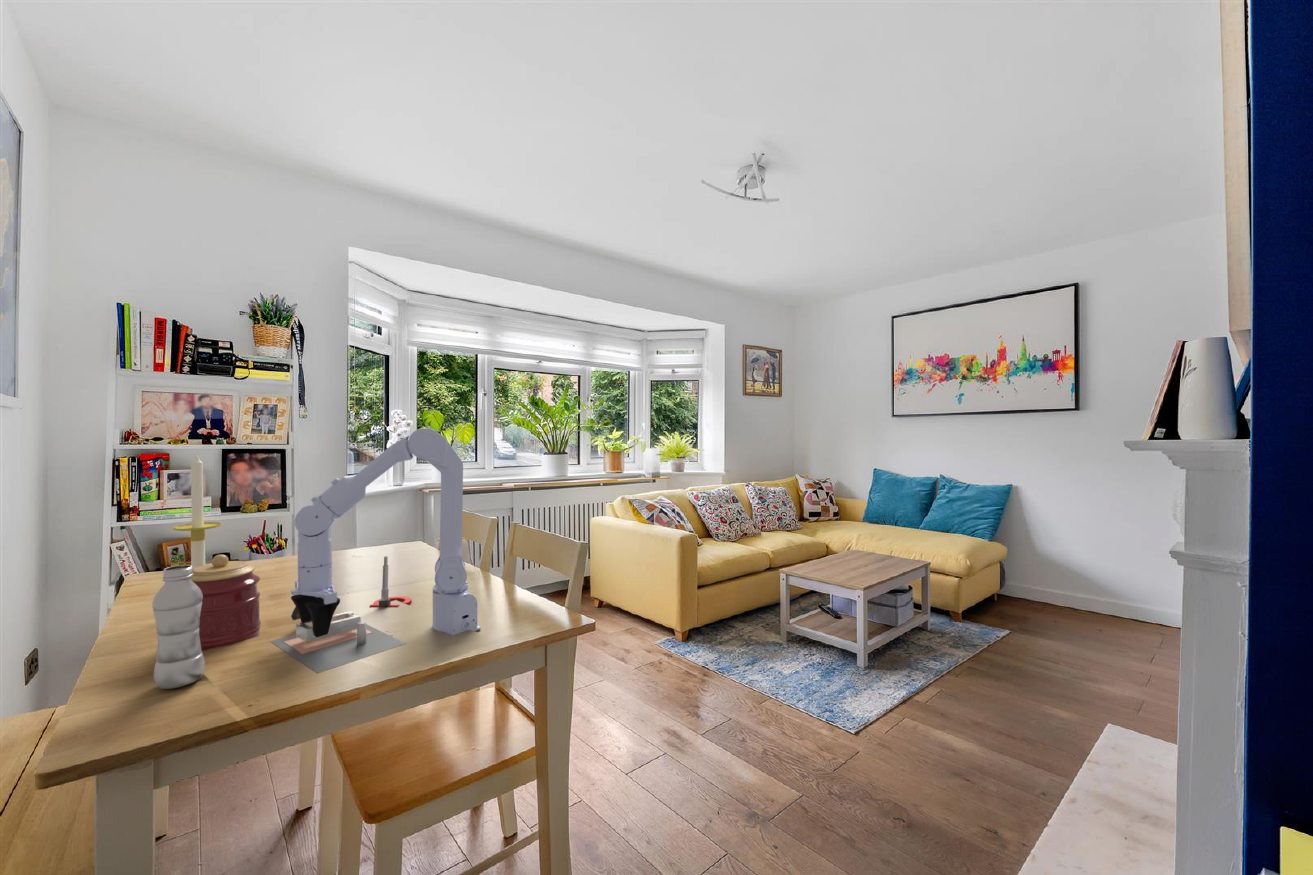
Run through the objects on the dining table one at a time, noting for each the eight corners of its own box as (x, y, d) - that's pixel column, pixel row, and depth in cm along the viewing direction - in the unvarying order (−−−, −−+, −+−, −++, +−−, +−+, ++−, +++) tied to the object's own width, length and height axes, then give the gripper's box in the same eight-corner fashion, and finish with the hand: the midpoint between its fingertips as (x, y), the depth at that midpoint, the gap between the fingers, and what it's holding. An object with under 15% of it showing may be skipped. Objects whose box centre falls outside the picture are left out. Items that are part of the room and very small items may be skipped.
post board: (406, 648, 107) (406, 623, 107) (317, 678, 94) (317, 650, 94) (354, 622, 120) (354, 600, 120) (270, 646, 107) (269, 621, 107)
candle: (159, 616, 122) (156, 452, 121) (208, 602, 132) (206, 450, 131) (188, 622, 119) (186, 453, 118) (236, 607, 129) (234, 451, 128)
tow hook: (383, 600, 136) (364, 611, 127) (384, 549, 136) (366, 556, 127) (417, 601, 136) (400, 612, 127) (418, 549, 137) (402, 557, 127)
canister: (272, 636, 112) (271, 552, 111) (195, 660, 101) (193, 566, 100) (243, 624, 118) (242, 544, 118) (167, 645, 107) (166, 557, 107)
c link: (360, 628, 112) (360, 616, 112) (306, 642, 104) (306, 629, 104) (349, 622, 115) (349, 611, 115) (296, 636, 107) (296, 623, 107)
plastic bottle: (215, 674, 95) (213, 562, 94) (182, 694, 88) (180, 573, 88) (177, 675, 95) (175, 562, 94) (142, 694, 88) (139, 573, 87)
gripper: (277, 562, 108) (278, 629, 108) (307, 575, 99) (308, 647, 100) (316, 555, 114) (317, 619, 114) (348, 567, 105) (348, 635, 105)
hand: (315, 631), depth 107 cm, fingers closed on c link, 5 cm apart
